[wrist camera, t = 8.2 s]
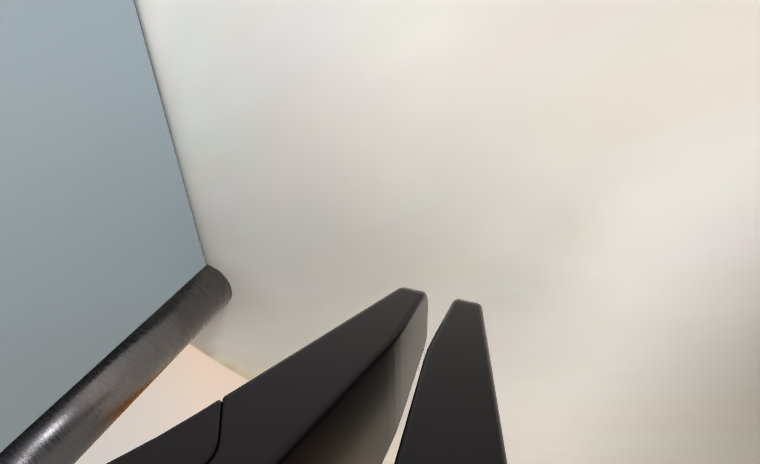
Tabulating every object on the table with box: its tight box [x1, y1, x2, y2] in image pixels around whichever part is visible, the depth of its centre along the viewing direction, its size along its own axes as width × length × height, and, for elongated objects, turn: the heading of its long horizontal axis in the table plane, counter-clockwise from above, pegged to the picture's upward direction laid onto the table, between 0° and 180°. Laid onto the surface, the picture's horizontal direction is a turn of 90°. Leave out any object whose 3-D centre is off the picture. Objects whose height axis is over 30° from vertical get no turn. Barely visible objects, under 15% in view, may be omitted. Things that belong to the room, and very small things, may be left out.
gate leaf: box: [0, 0, 206, 453], centre depth 20 cm, size 18×2×14 cm, turn 4°
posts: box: [0, 265, 231, 464], centre depth 19 cm, size 24×3×16 cm, turn 3°
